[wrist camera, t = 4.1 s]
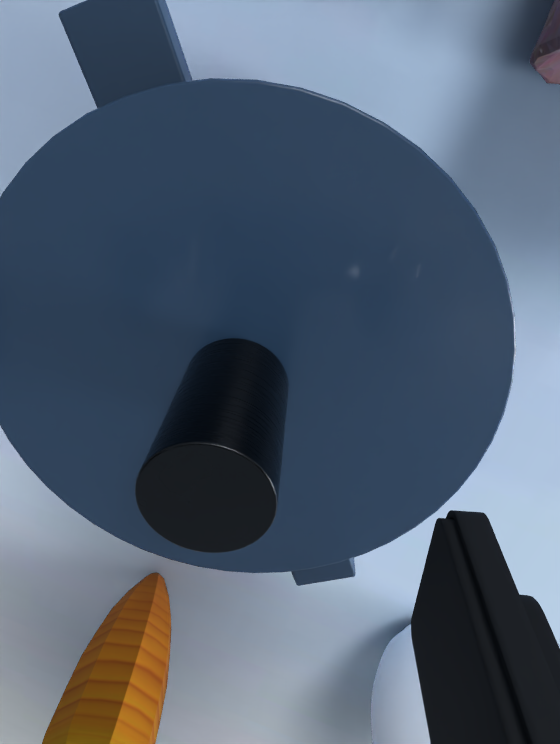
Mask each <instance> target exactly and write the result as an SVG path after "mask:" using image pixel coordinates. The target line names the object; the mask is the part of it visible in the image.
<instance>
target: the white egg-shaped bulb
mask: <svg viewBox="0 0 560 744" xmlns="http://www.w3.org/2000/svg"><path fill="white" fill-rule="evenodd" d="M371 729H372V740H373V744H431V742H430V737H429V731H428V726H427V720H426V715H425V709H424V704H423V699H422V693H421V688H420V682H419V677H418V671H417V666H416V660H415V655H414V649H413V644H412V637H411V624H410V625H408V626H407V627H406V628H404V629H403V631H401V632H400V633H398V634H397V635H396V636H395V637H394V638H392V639H391V641H390V642H389V644H388V645H387V647H386V649H385V651H384V653H383V655H382V658H381V660H380V663H379V666H378V669H377V673H376V676H375V680H374V685H373V691H372V700H371Z"/></svg>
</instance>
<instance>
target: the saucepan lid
mask: <svg viewBox="0 0 560 744" xmlns="http://www.w3.org/2000/svg"><path fill="white" fill-rule="evenodd" d="M515 354H516V336H515V314H514V309H513V304H512V299H511V294H510V289H509V284H508V279H507V277H506V274H505V271H504V268H503V266H502V263H501V260H500V257H499V255H498V252H497V249H496V246H495V244H494V242H493V240H492V238H491V237H490V235H489V233H488V231H487V229H486V228H485V226H484V224H483V222H482V220H481V218H480V217H479V215H478V213H477V211H476V210H475V208H474V207H473V206H472V204H471V203H470V202H469V200H468V199H467V198H466V197H465V195H464V194H463V193H462V191H461V190H460V189H459V187H458V186H457V185H456V184H455V182H454V181H453V180H452V178H451V177H450V176H449V175H448V174H447V173H446V172H445V171H444V170H442V169H441V168H440V167H439V166H438V165H437V164H436V163H435V162H434V161H433V160H432V159H431V158H430V157H429V156H428V155H427V154H426V153H425V152H424V151H423V150H422V149H421V148H419V147H418V146H417V145H415V144H414V143H412V142H411V141H410V140H408V139H407V138H405V137H404V136H402V135H401V134H400V133H398V132H397V131H395V130H394V129H393V128H391V127H390V126H388V125H387V124H386V123H384V122H382V121H380V120H378V119H376V118H374V117H372V116H370V115H368V114H366V113H364V112H362V111H361V110H359V109H357V108H355V107H353V106H351V105H349V104H347V103H345V102H342V101H339V100H336V99H333V98H330V97H327V96H324V95H321V94H319V93H316V92H313V91H310V90H307V89H304V88H300V87H294V86H289V85H283V84H277V83H272V82H266V81H261V80H248V79H212V78H210V79H202V80H194V81H186V82H178V83H170V84H165V85H161V86H158V87H154V88H151V89H147V90H144V91H140V92H137V93H133V94H130V95H126V96H123V97H121V98H119V99H117V100H115V101H113V102H110V103H108V104H106V105H104V106H102V107H100V108H98V109H95V110H93V111H91V112H89V113H87V114H85V115H84V116H82V117H81V118H79V119H78V120H77V121H75V122H74V123H72V124H71V125H69V126H68V127H66V128H65V129H63V130H62V131H60V132H59V133H57V134H56V135H55V136H53V137H52V138H51V139H50V140H49V141H48V142H47V143H46V144H45V145H44V146H43V147H42V148H41V149H39V150H38V151H37V152H36V153H35V154H34V155H33V156H32V157H31V158H30V159H29V160H28V161H27V162H26V163H25V164H24V165H23V167H22V168H21V169H20V171H19V172H18V173H17V175H16V176H15V177H14V179H13V180H12V181H11V183H10V184H9V185H8V187H7V188H6V189H5V191H4V192H3V194H2V196H1V197H0V425H1V427H2V429H3V431H4V432H5V434H6V436H7V438H8V439H9V441H10V442H11V444H12V445H13V447H14V448H15V449H16V451H17V452H18V453H19V455H20V456H21V457H22V459H23V460H24V462H25V463H26V464H27V465H28V467H29V468H30V469H31V470H32V471H33V472H34V473H35V474H36V475H37V476H38V477H39V479H40V480H41V481H42V482H43V483H44V484H45V485H46V486H47V487H48V488H49V489H50V490H51V491H52V492H54V493H55V494H56V495H57V496H58V497H59V498H60V499H61V500H63V501H64V502H65V503H66V504H67V505H68V506H69V507H71V508H72V509H74V510H75V511H76V512H78V513H79V514H81V515H82V516H83V517H85V518H86V519H87V520H89V521H90V522H92V523H93V524H95V525H97V526H98V527H100V528H102V529H103V530H105V531H107V532H109V533H110V534H112V535H114V536H115V537H117V538H119V539H121V540H123V541H126V542H128V543H130V544H132V545H134V546H136V547H138V548H141V549H143V550H145V551H148V552H151V553H154V554H157V555H159V556H162V557H165V558H168V559H171V560H175V561H178V562H182V563H186V564H190V565H194V566H198V567H204V568H210V569H217V570H223V571H233V572H248V573H269V572H288V571H296V570H304V569H311V568H316V567H320V566H325V565H329V564H334V563H338V562H341V561H344V560H347V559H350V558H353V557H356V556H359V555H362V554H365V553H367V552H370V551H372V550H374V549H376V548H378V547H381V546H383V545H385V544H387V543H389V542H391V541H393V540H395V539H396V538H398V537H400V536H401V535H403V534H405V533H407V532H408V531H410V530H412V529H413V528H415V527H416V526H418V525H419V524H420V523H421V522H423V521H424V520H425V519H427V518H428V517H429V516H431V515H432V514H433V513H435V512H436V511H437V510H438V509H439V508H440V507H441V506H442V505H444V504H445V503H446V502H447V501H448V500H449V499H450V498H451V497H452V496H453V495H454V494H455V493H456V492H457V491H458V490H459V489H460V487H461V486H462V485H463V484H464V482H465V481H466V480H467V479H468V477H469V476H470V475H471V474H472V472H473V471H474V470H475V469H476V467H477V466H478V464H479V462H480V461H481V459H482V457H483V456H484V454H485V452H486V451H487V449H488V447H489V446H490V444H491V443H492V441H493V438H494V436H495V434H496V431H497V429H498V426H499V424H500V422H501V419H502V417H503V415H504V412H505V408H506V404H507V401H508V397H509V393H510V389H511V385H512V381H513V372H514V363H515Z"/></svg>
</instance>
